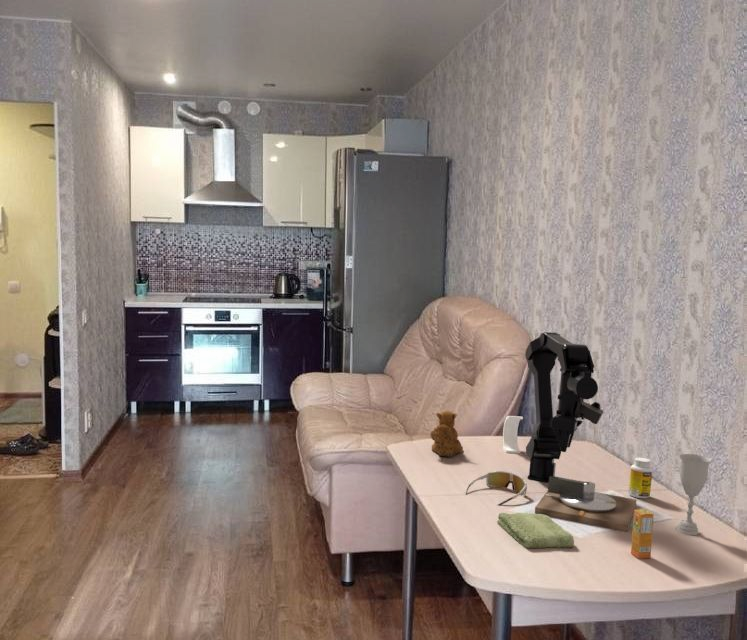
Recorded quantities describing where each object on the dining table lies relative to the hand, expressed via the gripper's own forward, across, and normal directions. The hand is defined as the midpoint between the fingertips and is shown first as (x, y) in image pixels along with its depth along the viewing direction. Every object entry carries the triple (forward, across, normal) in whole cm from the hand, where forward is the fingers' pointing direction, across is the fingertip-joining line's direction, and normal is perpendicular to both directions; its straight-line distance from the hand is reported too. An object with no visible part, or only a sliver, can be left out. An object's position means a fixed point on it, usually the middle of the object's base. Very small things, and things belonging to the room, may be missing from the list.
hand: (565, 449), depth 199 cm
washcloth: (+14, -31, +1) cm, 34 cm away
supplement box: (+13, -31, -22) cm, 40 cm away
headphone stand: (+13, +39, +24) cm, 48 cm away
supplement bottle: (+13, +14, -18) cm, 27 cm away
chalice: (+13, -8, -32) cm, 35 cm away
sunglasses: (+14, -8, +16) cm, 22 cm away
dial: (+11, -6, -6) cm, 14 cm away
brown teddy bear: (+13, +22, +40) cm, 48 cm away
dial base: (+13, -6, -8) cm, 16 cm away
